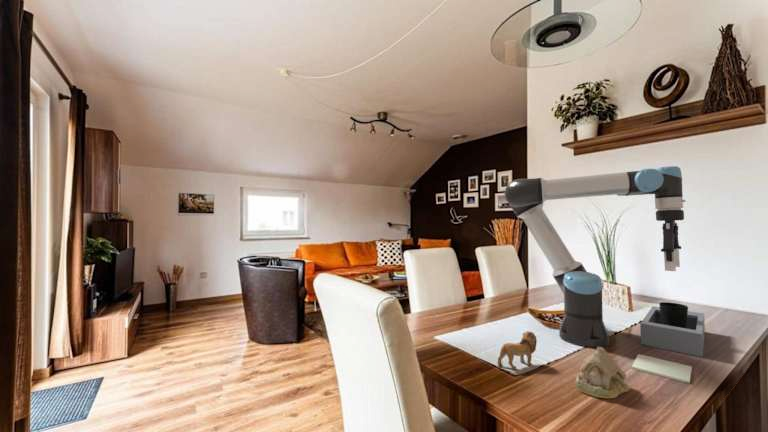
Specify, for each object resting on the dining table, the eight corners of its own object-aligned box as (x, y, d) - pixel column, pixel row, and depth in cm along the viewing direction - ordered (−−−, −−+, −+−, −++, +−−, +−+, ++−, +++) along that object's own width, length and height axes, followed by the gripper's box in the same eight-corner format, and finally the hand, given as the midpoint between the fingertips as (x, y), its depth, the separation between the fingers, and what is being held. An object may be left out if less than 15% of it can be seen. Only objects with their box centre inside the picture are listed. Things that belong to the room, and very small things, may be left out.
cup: (654, 335, 117) (653, 302, 118) (673, 334, 118) (672, 301, 118) (675, 342, 110) (674, 308, 110) (695, 342, 110) (694, 307, 111)
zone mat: (631, 368, 91) (631, 366, 91) (638, 356, 99) (638, 354, 99) (689, 383, 82) (689, 381, 82) (691, 368, 90) (691, 366, 90)
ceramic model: (583, 370, 90) (583, 335, 90) (633, 385, 82) (632, 346, 82) (567, 388, 80) (566, 348, 81) (621, 407, 72) (620, 362, 72)
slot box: (640, 343, 109) (640, 323, 109) (653, 323, 131) (652, 306, 131) (702, 357, 98) (702, 334, 98) (704, 331, 120) (704, 313, 120)
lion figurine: (526, 356, 99) (526, 327, 99) (542, 363, 94) (541, 333, 95) (492, 366, 93) (491, 335, 93) (506, 374, 88) (505, 341, 88)
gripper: (679, 208, 103) (683, 273, 103) (686, 209, 120) (689, 265, 119) (650, 209, 109) (653, 271, 108) (660, 210, 126) (663, 264, 125)
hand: (672, 268), depth 114 cm, fingers open, 13 cm apart
